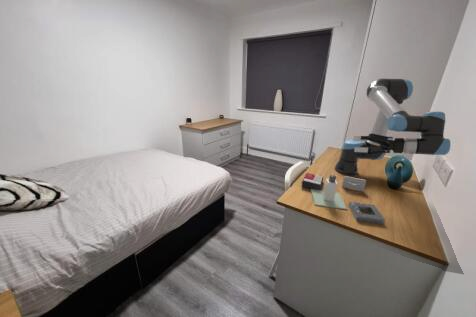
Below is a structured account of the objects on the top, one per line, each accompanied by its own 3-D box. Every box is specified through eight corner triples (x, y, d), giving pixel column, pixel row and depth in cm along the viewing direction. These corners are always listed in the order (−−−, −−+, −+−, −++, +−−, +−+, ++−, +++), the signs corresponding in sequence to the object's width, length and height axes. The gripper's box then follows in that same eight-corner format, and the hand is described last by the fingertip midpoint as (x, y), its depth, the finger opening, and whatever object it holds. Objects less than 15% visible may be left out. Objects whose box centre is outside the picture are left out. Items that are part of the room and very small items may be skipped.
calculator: (323, 176, 130) (321, 184, 117) (322, 182, 131) (319, 190, 118) (306, 172, 134) (302, 179, 122) (305, 178, 136) (301, 185, 123)
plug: (322, 195, 114) (327, 173, 109) (331, 196, 113) (336, 174, 108) (323, 199, 109) (329, 177, 104) (333, 201, 109) (339, 178, 103)
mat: (310, 189, 120) (310, 189, 120) (338, 193, 117) (338, 192, 117) (314, 205, 106) (315, 204, 105) (346, 209, 103) (347, 208, 103)
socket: (348, 205, 106) (349, 201, 105) (372, 209, 104) (374, 205, 103) (356, 220, 95) (357, 216, 94) (383, 224, 93) (385, 220, 92)
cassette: (341, 187, 124) (344, 176, 121) (341, 186, 126) (344, 175, 123) (363, 192, 120) (366, 181, 117) (362, 190, 122) (366, 179, 119)
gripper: (407, 140, 86) (352, 139, 98) (399, 162, 105) (354, 159, 117) (408, 125, 88) (353, 126, 100) (400, 149, 107) (355, 147, 119)
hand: (353, 144), depth 109 cm, fingers open, 13 cm apart
